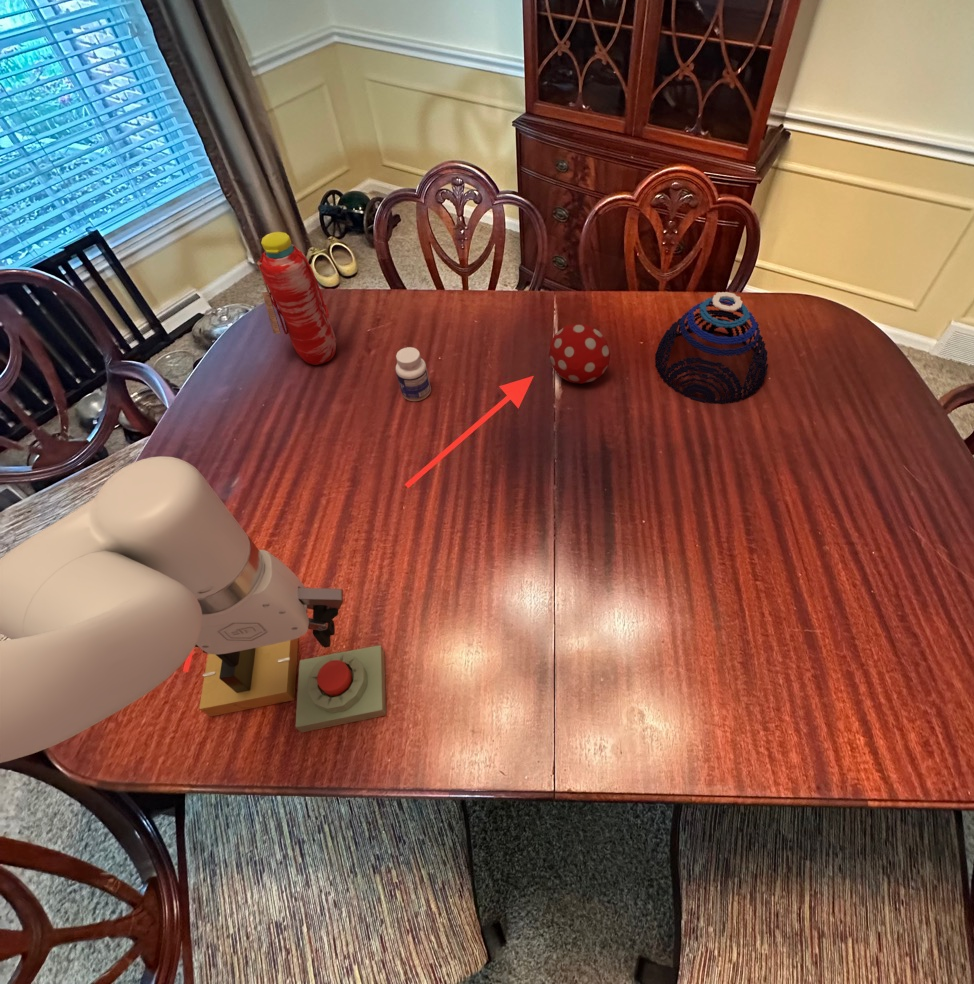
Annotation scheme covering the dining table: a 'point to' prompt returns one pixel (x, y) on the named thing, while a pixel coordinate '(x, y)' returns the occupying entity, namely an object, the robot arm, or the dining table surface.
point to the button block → (351, 705)
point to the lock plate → (253, 681)
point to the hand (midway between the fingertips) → (282, 643)
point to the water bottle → (296, 299)
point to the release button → (334, 677)
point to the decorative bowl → (714, 350)
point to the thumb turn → (239, 672)
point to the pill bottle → (412, 374)
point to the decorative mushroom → (579, 353)
